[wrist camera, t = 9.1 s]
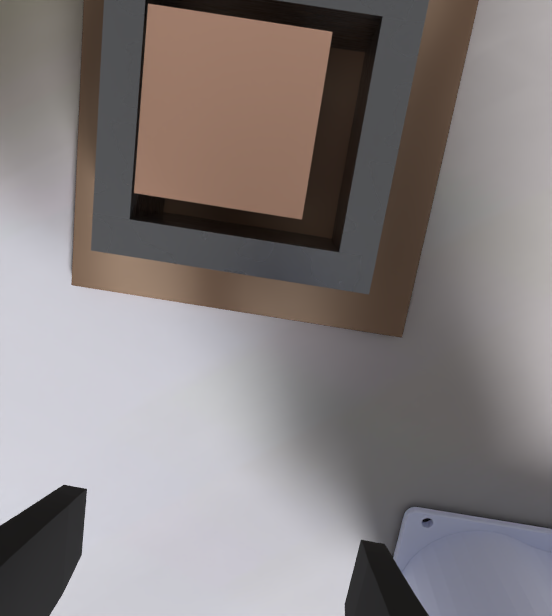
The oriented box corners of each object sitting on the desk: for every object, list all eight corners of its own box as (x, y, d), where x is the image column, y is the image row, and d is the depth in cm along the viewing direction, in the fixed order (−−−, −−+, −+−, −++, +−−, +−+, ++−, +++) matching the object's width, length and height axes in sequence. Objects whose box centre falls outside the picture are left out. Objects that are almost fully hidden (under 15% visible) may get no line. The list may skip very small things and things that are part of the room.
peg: (319, 96, 18) (332, 32, 10) (301, 204, 19) (302, 219, 11) (213, 79, 18) (148, 3, 10) (201, 188, 19) (133, 192, 11)
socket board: (484, -40, 17) (545, -115, 13) (399, 334, 21) (425, 374, 16) (94, -98, 17) (25, -191, 13) (76, 282, 21) (17, 309, 17)
